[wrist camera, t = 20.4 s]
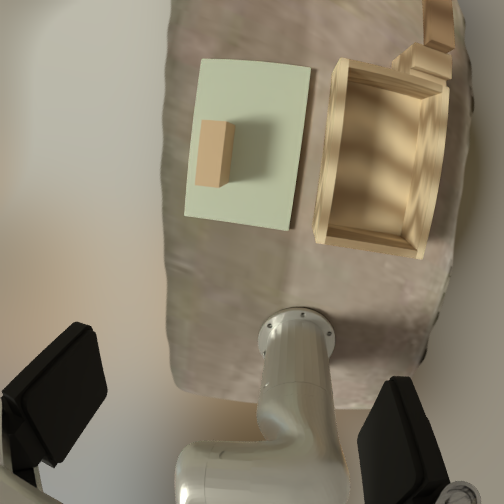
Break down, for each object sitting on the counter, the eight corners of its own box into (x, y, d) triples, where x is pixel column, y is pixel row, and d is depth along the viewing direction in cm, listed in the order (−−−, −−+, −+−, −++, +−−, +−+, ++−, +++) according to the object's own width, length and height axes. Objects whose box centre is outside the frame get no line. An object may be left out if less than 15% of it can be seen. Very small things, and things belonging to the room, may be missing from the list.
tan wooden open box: (402, 241, 42) (426, 263, 34) (311, 226, 44) (317, 246, 35) (426, 71, 34) (455, 57, 25) (334, 48, 35) (344, 23, 26)
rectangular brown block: (445, 53, 25) (454, 48, 23) (423, 45, 25) (431, 39, 23) (442, 2, 22) (450, -5, 20) (421, -7, 23) (428, -14, 20)
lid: (288, 228, 45) (287, 243, 38) (187, 213, 46) (169, 225, 39) (310, 70, 37) (313, 55, 30) (204, 61, 38) (188, 46, 31)
